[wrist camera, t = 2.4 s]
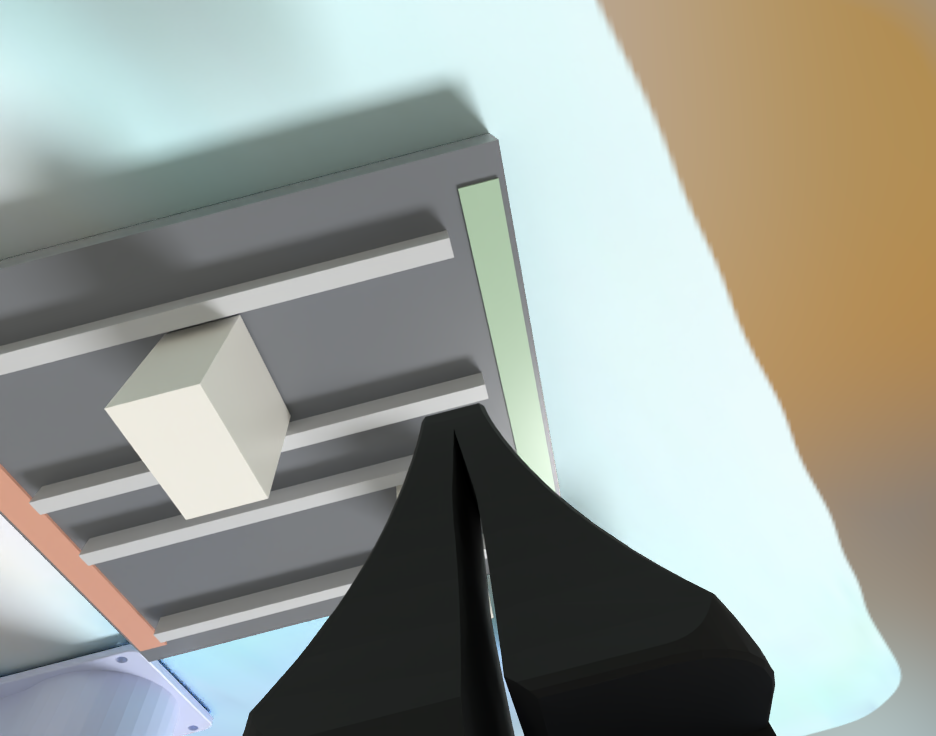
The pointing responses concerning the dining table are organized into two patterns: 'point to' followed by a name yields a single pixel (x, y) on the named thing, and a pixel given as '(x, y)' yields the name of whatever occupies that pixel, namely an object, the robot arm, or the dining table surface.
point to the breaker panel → (293, 371)
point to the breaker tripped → (205, 417)
